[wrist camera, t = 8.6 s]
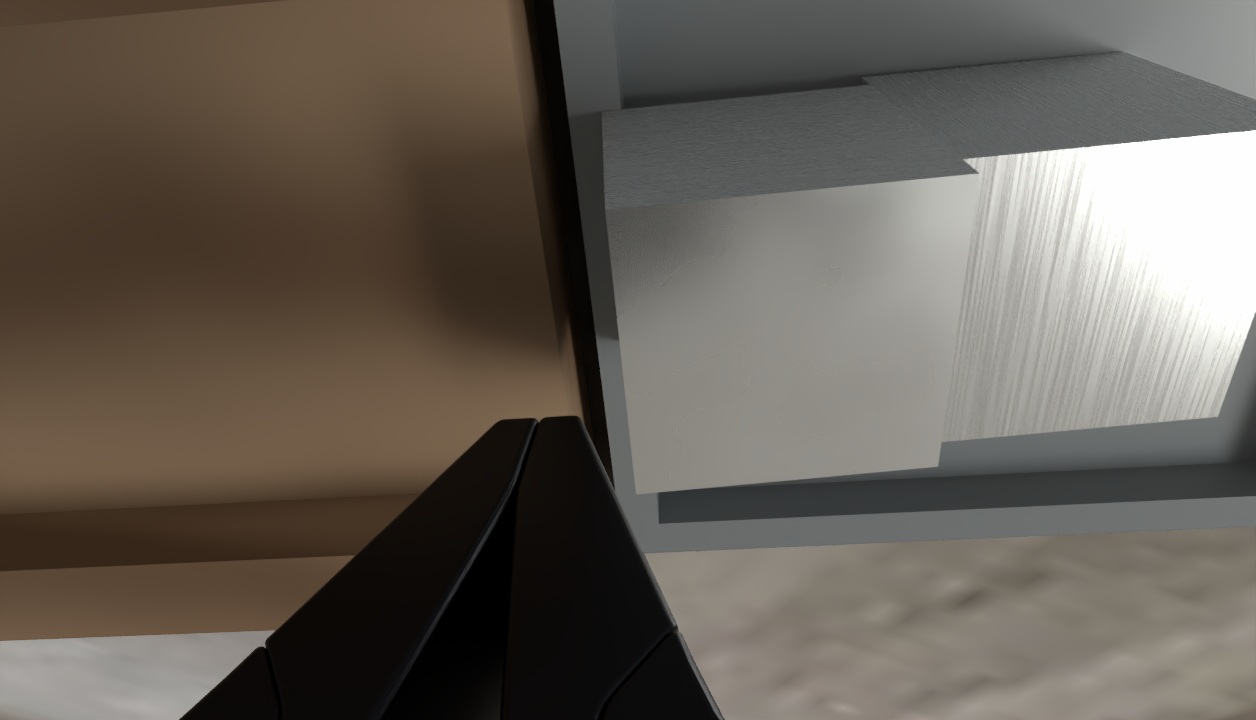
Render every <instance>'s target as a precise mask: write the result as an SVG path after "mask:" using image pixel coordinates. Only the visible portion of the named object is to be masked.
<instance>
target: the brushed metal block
mask: <svg viewBox="0 0 1256 720" xmlns="http://www.w3.org/2000/svg"><path fill="white" fill-rule="evenodd" d="M602 136H603V165H604V193H605V214H606V223H607V232H608V241H609V250H610V260H611V269H612V278H613V287H614V296H615V306H616V315H617V324H618V333H619V342H620V352H621V361H622V370H623V379H624V388H625V398H626V407H627V416H628V425H629V434H630V444H631V453H632V462H633V471H634V480H635V490H636V494H647V493H657V492H668V491H679V490H690V489H701V488H712V487H723V486H733V485H744V484H755V483H766V482H777V481H788V480H799V479H810V478H820V477H831V476H842V475H853V474H864V473H875V472H886V471H896V470H907V469H918V468H929V467H938V463H939V456H940V449H941V442H942V435H943V428H944V421H945V414H946V407H947V400H948V393H949V386H950V379H951V372H952V365H953V358H954V351H955V344H956V337H957V330H958V323H959V316H960V309H961V302H962V295H963V288H964V281H965V274H966V267H967V260H968V253H969V246H970V239H971V232H972V225H973V218H974V211H975V204H976V197H977V190H978V183H979V176H980V173H979V172H978V171H976V170H975V169H974V168H973V167H971V166H970V165H969V164H968V163H966V162H965V161H964V160H963V159H962V158H960V157H959V156H958V155H957V154H955V153H954V152H953V151H952V150H950V149H949V148H948V147H947V146H946V145H944V144H943V143H942V142H941V141H939V140H938V139H937V138H936V137H934V136H933V135H932V134H931V133H930V132H928V131H927V130H926V129H925V128H923V127H922V126H921V125H920V124H918V123H917V122H916V121H915V120H914V119H912V118H911V117H910V116H909V115H907V114H906V113H905V112H904V111H902V110H901V109H900V108H899V107H898V106H896V105H895V104H894V103H893V102H891V101H890V100H889V99H888V98H887V97H885V96H884V95H883V94H882V93H880V92H879V91H878V90H877V89H875V88H874V87H873V86H872V85H862V86H852V87H842V88H832V89H821V90H811V91H801V92H791V93H781V94H771V95H761V96H751V97H741V98H731V99H720V100H710V101H700V102H690V103H680V104H670V105H660V106H650V107H640V108H630V109H620V110H609V111H602Z"/></svg>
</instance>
